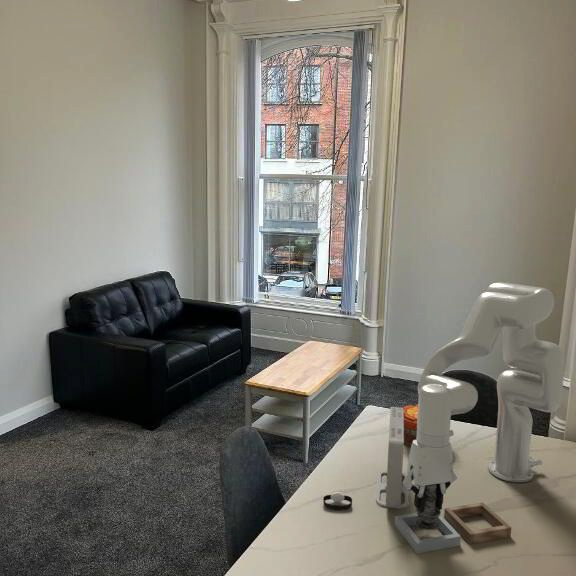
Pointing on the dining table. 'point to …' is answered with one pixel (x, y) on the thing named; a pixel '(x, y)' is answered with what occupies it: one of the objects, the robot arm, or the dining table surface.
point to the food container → (410, 424)
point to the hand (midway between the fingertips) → (428, 507)
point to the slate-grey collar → (431, 543)
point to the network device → (394, 464)
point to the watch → (337, 498)
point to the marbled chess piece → (429, 510)
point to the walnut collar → (476, 536)
